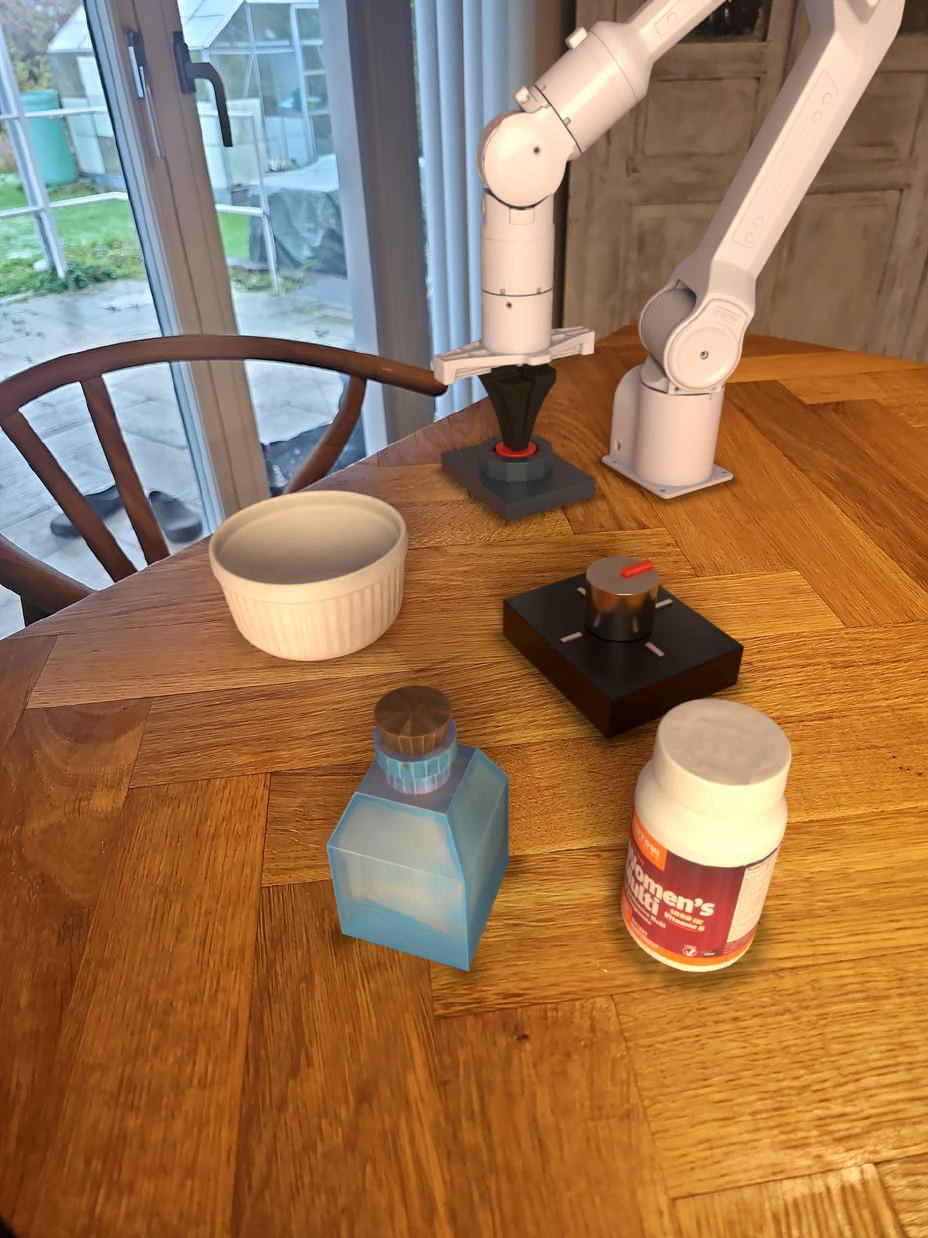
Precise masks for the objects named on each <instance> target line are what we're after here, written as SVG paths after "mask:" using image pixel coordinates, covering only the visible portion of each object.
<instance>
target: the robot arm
mask: <svg viewBox="0 0 928 1238" xmlns="http://www.w3.org/2000/svg"><path fill="white" fill-rule="evenodd" d="M726 1H727V0H646V1H645V2H643V4H642V5H640V7H638V8H637V10H636V11H635V12H634V13H632V15H631V16H630V17H629V18H628V19H627V20H626V21H625V22H615V21H608V20H599V21H596V23H595V24H594V25H593V26H591V28H590V29H588V30H586V29H585V27H581V26H580V27H577V28H576V29H575V30H574V31H573V32H572V33H571V34H569V36H567V37H566V39H565V44H566V45H567V47H568V50H567V51H566V52H565V53H564V54H562V56H560V57H559V58H558V59H557V60H556V62H555V63H553V64H552V65H551V67H550V68H548V69H547V70H546V71H545V72H544V73H543V74H542V75H541V76H540V77H539V78H538V79H537V80H536V81H535V82H534V83H533V84H532V85H531V86H530V87H528V88H527V87H526V86H525V85H523V84H522V85H521V86H520V87H519V88H518V89H517V90H516V91H515V92H514V93H513V95H512V98H513V100H514V102H516V105H517V106H518V108H519V109H511V110H508V111H503V112H501V113H499V114H497V115H496V116H495V117H493V118H492V119H491V120H489V122H488V123H487V124H486V125H485V127H484V129H483V130H482V132H481V134H480V136H479V141H478V142H477V146H476V147H477V148H476V152H475V153H474V156H473V159H474V163H475V164H474V165H475V168H476V172H477V174H478V176H479V178H480V180H481V181H482V182H483V184H484V185H485V186H486V187H483V188H482V197H481V201H480V213H481V216H482V221H481V224H480V226H479V227H480V228H479V238H480V239H479V244H480V246H479V247H480V298H481V299H480V301H481V302H480V308H481V310H480V311H481V312H480V313H481V338H480V339H478V340H474V341H472V342H470V343H467V344H464V345H462V346H459V347H456V348H454V349H452V350H448V351H445V352H442V353H439V354H433V356H432V359H433V360H432V361H433V362H432V364H433V379H435V380H436V381H437V382H439V383H440V384H443V385H444V386H449V385H454V384H456V383H457V381H458V380H462V379H466V378H472V377H476V376H477V377H478V379H479V381H480V384H482V386H483V388H484V390H485V392H486V394H487V395H488V398H489V400H490V403H491V405H492V408H493V410H494V413H495V416H496V419H497V423H498V427H499V431H500V434H501V435H502V439H503V444H504V445H505V446H506V447H508V448H509V449H511V450H512V451H514V452H518V451H522V450H525V449H528V445H529V441H530V438H531V434H532V435H533V430H534V428H535V423H536V421H537V418H538V416H539V412H540V411H541V408H542V406H543V404H544V402H545V400H546V398H547V396H548V394H549V393H550V391H551V390H552V388H553V386H554V385H555V384H556V382H557V375H558V374H557V369H556V368H555V367H553V366H551V365H549V363H551V362H552V360H556V359H560V358H564V357H568V356H569V357H570V356H574V355H579V354H580V355H581V356H588V355H592V354H594V353H595V339H596V337H595V336H596V331H595V330H593V329H591V328H588V327H586V326H584V325H578V326H571V327H561V328H552V327H553V303H554V302H553V298H554V297H553V296H554V269H555V268H554V266H555V265H554V264H555V263H554V262H555V235H556V234H555V233H556V232H555V231H556V227H555V223H554V201H555V200H554V199H555V198H554V196H555V195H554V194H555V193H556V192H557V190H558V188H559V187H560V185H561V183H562V181H563V178H564V176H565V172H566V165H567V162H570V161H575V160H577V159H579V158H580V157H581V156H582V155H583V154H584V153H585V152H587V150H588V149H590V148H591V146H593V145H594V144H596V142H597V141H598V140H599V139H601V137H603V136H604V135H605V134H606V133H607V132H608V131H609V130H610V129H612V127H613V126H615V125H616V124H617V123H618V122H619V121H620V120H622V118H623V117H624V116H625V115H626V114H627V113H629V112H630V111H631V110H632V109H633V108H634V107H635V106H637V104H639V102H640V101H642V100H643V99H644V98H645V97H646V95H647V93H648V90H649V83H650V77H651V74H652V70H653V66H654V64H655V62H656V61H657V60H659V59H660V58H661V57H662V56H664V55H665V54H666V53H667V52H668V51H670V49H671V48H673V47H674V46H675V45H676V44H677V43H678V42H680V41H681V40H682V39H683V38H684V37H685V36H687V35H688V34H689V33H690V32H691V31H693V29H694V28H696V27H697V26H698V25H699V24H701V22H703V21H704V20H705V19H707V17H709V16H710V15H711V14H712V13H713V12H714V11H716V9H718V8H719V7H720V6H721V5H722V4H723V3H725V2H726ZM803 2H804V6H805V10H806V11H805V12H806V14H807V15H806V16H807V19H808V22H809V28H810V32H809V36H808V37H807V39H806V42H805V43H804V45H803V47H802V49H801V51H800V52H799V55H798V57H797V58H796V60H795V62H794V64H793V66H792V68H791V70H790V72H789V73H788V76H787V78H786V79H785V81H784V83H783V85H782V87H781V89H780V91H779V93H778V94H777V96H776V98H775V100H774V102H773V103H772V106H771V108H770V110H769V111H768V114H767V116H766V117H765V119H764V121H763V123H762V125H761V126H760V128H759V130H758V131H757V135H756V136H755V138H754V140H753V142H752V144H751V145H750V147H749V150H748V151H747V153H746V155H745V156H744V159H743V161H742V163H741V165H740V166H739V168H738V171H737V173H736V174H735V176H734V178H733V180H732V181H731V184H730V186H729V188H728V189H727V191H726V193H725V195H724V197H723V199H722V201H721V202H720V204H719V206H718V208H717V210H716V212H715V214H714V216H713V218H712V220H711V221H710V224H709V225H708V228H707V229H706V231H705V233H704V235H703V236H702V239H701V240H700V242H699V244H698V247H697V248H696V249H695V250H694V251H693V252H691V253H690V254H689V255H688V256H687V257H685V258H684V259H683V260H682V261H681V262H679V263H678V264H677V265H676V267H675V268H674V269H673V272H672V274H671V276H670V277H669V279H668V281H667V282H666V283H665V284H664V285H663V286H662V288H660V289H659V290H658V291H656V292H655V293H654V294H653V295H652V296H650V298H649V299H648V300H647V301H646V303H645V304H644V305H643V307H642V308H641V311H640V314H639V316H638V320H637V334H638V338H639V340H640V342H641V344H642V346H643V348H644V349H645V350H646V351H647V357H646V359H645V362H644V363H640V364H638V365H635V366H634V367H632V368H631V369H629V370H628V371H627V372H625V374H624V375H623V376H622V378H621V379H620V381H619V382H618V384H617V386H616V389H615V391H614V396H613V402H612V416H611V429H610V440H609V441H610V443H609V453H608V454H606V455H603V456H601V462H602V463H603V464H605V465H607V466H608V467H609V468H611V469H613V470H615V471H616V472H618V473H619V474H621V475H623V476H624V477H626V478H627V479H630V480H631V481H633V482H635V483H636V484H638V485H639V486H641V487H643V488H645V490H648V491H649V492H651V493H653V494H655V495H656V496H658V497H659V498H661V499H664V500H669V499H673V498H676V497H679V496H682V495H686V494H689V493H692V492H695V491H699V490H701V489H705V488H709V487H712V486H715V485H718V484H722V483H723V482H724V483H725V482H728V481H731V480H732V479H733V478H734V474H733V472H732V471H729V470H727V469H726V468H723V467H722V466H720V465H717V464H715V463H714V462H715V455H716V449H717V442H718V435H719V430H720V423H721V416H722V409H723V404H724V397H725V390H726V382H727V380H728V378H730V377H731V375H733V373H734V371H735V370H736V368H737V367H738V365H739V363H740V360H741V357H742V353H743V346H744V345H743V344H744V337H745V334H746V331H747V329H748V327H749V325H750V323H751V321H752V319H754V318H753V317H754V316H755V313H756V286H757V285H756V284H757V279H758V278H759V275H760V274H761V272H762V270H763V269H764V267H765V264H766V263H767V261H768V260H769V258H770V256H771V254H772V252H773V251H774V249H775V247H776V246H777V244H778V242H779V240H780V239H781V237H782V236H783V233H784V232H785V230H786V229H787V226H788V225H789V224H790V221H791V219H792V218H793V216H794V215H795V213H796V211H797V209H798V208H799V205H800V204H801V202H802V200H803V199H804V198H805V195H806V193H807V191H808V190H809V188H810V186H811V185H812V183H813V182H814V179H815V178H816V176H817V174H818V172H819V171H820V169H821V168H822V166H823V163H824V162H825V160H826V158H827V157H828V155H829V153H830V152H831V150H832V148H833V147H834V144H835V143H836V141H837V140H838V137H839V136H840V134H841V132H842V131H843V129H844V128H845V125H846V124H847V122H848V120H849V119H850V116H851V115H852V113H853V111H854V110H855V108H856V106H857V104H858V103H859V101H860V99H861V97H862V96H863V94H864V92H865V90H866V88H867V87H868V85H869V83H871V80H872V78H873V77H874V75H875V73H876V71H877V70H878V68H879V66H880V65H881V63H882V61H883V59H884V57H885V55H886V54H887V52H888V50H889V49H890V47H891V45H892V43H893V42H894V40H895V38H896V36H897V33H898V31H899V29H900V26H901V24H902V21H903V20H902V19H903V14H904V10H905V3H906V0H803Z"/></svg>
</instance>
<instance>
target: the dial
mask: <svg viewBox="0 0 928 1238" xmlns="http://www.w3.org/2000/svg"><path fill="white" fill-rule="evenodd" d="M586 572H587V573H586V587H585V603H584V618H583V619H584V624H585V626H586V627H587V629H588V630H589V631H590V632H592V633H593V634H595V635H597V636H599V637H601V638H604V639H607V640H612V641H632V640H636V639H639V638H642V637H644V636H646V635H647V634H648V633H649V632H650V631H651V630H652V628H653V624H654V616H655V608H656V600H657V592H658V585H660V583H659V582H660V575H659V572H658V571H657V569H656V568H655V566H654V562H653V561H652V560H650V559H649V558H646V559H639V558H636V557H631V556H622V555H621V556H619V555H615V556H614V555H613V556H606V557H603V558H600V559H597V560H595V561H594V562H592V563H591V564H590V565H589V566H588V567H587V570H586Z"/></svg>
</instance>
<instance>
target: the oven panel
mask: <svg viewBox="0 0 928 1238" xmlns="http://www.w3.org/2000/svg"><path fill="white" fill-rule="evenodd" d="M586 573H587V571H584V572H581V573H577V574H575V575H572V576H568V577H565V578H563V579H560V580H557V581H554V582H551V583H547V584H544V585H542V586H539V587H536V588H533V589H530V590H527V591H524V592H522V593H519V594H514V595H512V596H509V597H506V598H504V599H502V636H503V637H504V638H505V639H506V640H507V641H508V642H509V643H510V644H511V645H512V646H513V647H514V648H515V649H516V650H517V651H518V652H519V653H520V654H521V655H522V656H523V657H524V658H525V659H526V660H527V661H528V662H529V663H530V664H531V665H532V666H533V667H534V668H535V669H536V670H537V671H539V673H540V674H541V675H542V676H543V677H544V678H545V679H546V680H547V681H548V682H550V684H551V685H552V686H553V687H554V688H555V689H556V690H558V691H559V693H560V694H562V696H564V698H566V700H567V701H569V703H570V704H571V705H572V706H573V707H574V708H575V709H577V711H579V713H581V714H582V716H584V717H585V719H586V720H587V721H589V722H590V723H591V724H592V725H593V727H594V728H596V729H597V730H598V731H599V732H600V733H601V734H602V735H603V737H605V738H606V739H607V740H610V739H612V738H615V737H617V736H619V735H622V734H624V733H627V732H628V731H631V730H633V729H636V728H638V727H641V726H642V725H645V724H648V723H650V722H652V721H654V720H656V719H659V718H661V717H664V716H665V714H666V713H667V712H669V711H670V710H671V709H673V708H674V707H676V706H678V705H680V704H682V703H685V702H688V701H692V700H698V699H706V698H708V697H710V696H712V695H715V694H717V693H719V692H721V691H723V690H727V689H729V688H731V687H733V686H735V685H737V684H738V679H739V674H740V670H741V665H742V660H743V654H744V650H745V646H744V645H743V644H742V643H740V642H739V641H738V640H736V639H735V638H734V637H732V636H730V635H729V634H728V633H727V632H725V631H723V630H722V629H721V628H720V627H718V626H717V625H715V624H714V623H713V622H711V621H710V620H709V619H707V618H706V617H704V616H703V615H701V614H700V613H699V612H697V611H696V610H695V609H694V608H692V607H690V606H689V605H687V604H686V603H685V602H683V601H682V600H681V599H680V598H678V597H677V596H675V595H674V594H673V593H671V592H670V591H668V590H667V589H666V588H664V587H663V586H661V585H660V584H658V592H657V600H656V608H655V616H654V624H653V628H652V630H651V631H650V632H649V633H648V634H647V635H646V636H644V637H642V638H639V639H636V640H632V641H612V640H607V639H604V638H601V637H599V636H597V635H595V634H593V633H592V632H590V631H589V630H588V629H587V627H586V626H585V624H584V619H583V618H584V603H585V587H586Z"/></svg>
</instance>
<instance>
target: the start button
mask: <svg viewBox="0 0 928 1238" xmlns="http://www.w3.org/2000/svg"><path fill="white" fill-rule="evenodd" d="M496 453H497V454H498V455H501V456H506V457H525V456H529V455H533V454H535V453H536V445H535V444H534V443H533V442H531V441H529V445H528V449H525V450H522V451H518V452H514V451H512V450H511V449H509V448H508V447H506V446H505V445H504V444H503V441H501V442H499V443H498V444H497V445H496Z"/></svg>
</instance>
